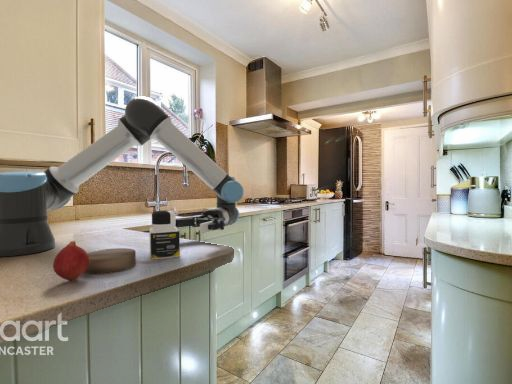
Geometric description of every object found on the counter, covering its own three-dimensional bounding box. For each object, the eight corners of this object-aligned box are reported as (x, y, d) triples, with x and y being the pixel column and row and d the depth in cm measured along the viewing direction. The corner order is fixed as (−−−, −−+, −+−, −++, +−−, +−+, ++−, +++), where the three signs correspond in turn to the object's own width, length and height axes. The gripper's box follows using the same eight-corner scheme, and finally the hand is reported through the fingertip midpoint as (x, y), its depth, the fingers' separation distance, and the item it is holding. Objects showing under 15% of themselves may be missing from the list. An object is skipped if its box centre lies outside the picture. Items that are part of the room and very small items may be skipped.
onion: (51, 288, 50) (49, 245, 49) (57, 279, 55) (55, 239, 54) (88, 283, 52) (87, 242, 52) (90, 274, 57) (89, 237, 57)
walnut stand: (93, 261, 67) (93, 249, 67) (140, 258, 69) (140, 247, 69) (72, 275, 57) (72, 261, 57) (128, 272, 59) (128, 258, 59)
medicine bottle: (150, 260, 68) (150, 212, 68) (149, 253, 75) (148, 210, 74) (180, 257, 71) (179, 211, 71) (176, 251, 78) (175, 209, 77)
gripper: (246, 230, 95) (219, 243, 75) (185, 227, 103) (145, 238, 83) (246, 209, 95) (218, 216, 75) (185, 208, 103) (145, 213, 83)
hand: (180, 227), depth 79 cm, fingers open, 13 cm apart
